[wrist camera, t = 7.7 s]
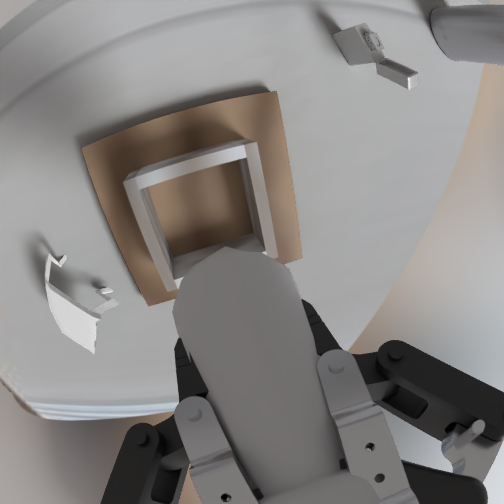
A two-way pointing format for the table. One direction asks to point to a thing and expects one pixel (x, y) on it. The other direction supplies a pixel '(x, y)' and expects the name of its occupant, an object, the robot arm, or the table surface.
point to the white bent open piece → (75, 311)
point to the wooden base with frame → (197, 189)
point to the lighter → (372, 54)
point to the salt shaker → (264, 377)
